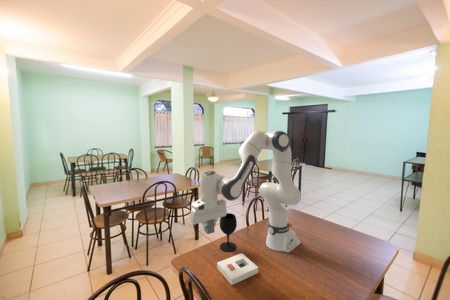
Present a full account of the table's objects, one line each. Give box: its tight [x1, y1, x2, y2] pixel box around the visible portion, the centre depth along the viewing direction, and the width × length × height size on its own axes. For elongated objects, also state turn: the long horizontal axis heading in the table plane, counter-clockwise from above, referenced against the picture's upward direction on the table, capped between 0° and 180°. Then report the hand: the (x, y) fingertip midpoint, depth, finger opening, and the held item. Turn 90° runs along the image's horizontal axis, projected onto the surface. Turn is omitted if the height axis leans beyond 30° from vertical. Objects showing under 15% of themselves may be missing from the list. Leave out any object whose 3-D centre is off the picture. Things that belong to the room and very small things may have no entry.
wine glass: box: [219, 212, 238, 253], centre depth 127 cm, size 10×10×20 cm
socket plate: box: [216, 252, 259, 286], centre depth 107 cm, size 16×14×4 cm
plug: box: [203, 219, 215, 235], centre depth 110 cm, size 4×4×7 cm
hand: (209, 227), depth 110 cm, fingers closed on plug, 4 cm apart
